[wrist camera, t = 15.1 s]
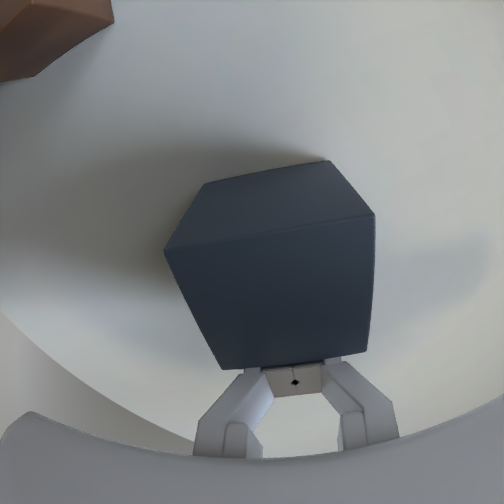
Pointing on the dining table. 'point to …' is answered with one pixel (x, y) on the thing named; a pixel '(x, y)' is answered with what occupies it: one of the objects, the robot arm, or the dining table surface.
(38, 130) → the dining table surface
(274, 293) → the slate cube
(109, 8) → the walnut cube
